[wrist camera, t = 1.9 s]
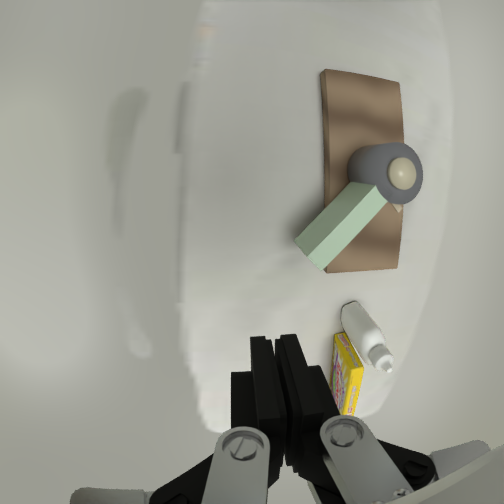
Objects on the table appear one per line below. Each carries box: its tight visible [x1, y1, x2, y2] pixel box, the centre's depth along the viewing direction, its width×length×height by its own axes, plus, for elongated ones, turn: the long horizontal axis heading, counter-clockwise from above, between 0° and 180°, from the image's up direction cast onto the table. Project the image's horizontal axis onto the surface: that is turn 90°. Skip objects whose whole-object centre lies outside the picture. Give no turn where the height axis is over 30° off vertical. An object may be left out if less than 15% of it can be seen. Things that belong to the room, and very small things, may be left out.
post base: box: [320, 69, 404, 273], centre depth 30 cm, size 24×10×2 cm, turn 1°
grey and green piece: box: [294, 142, 423, 271], centre depth 26 cm, size 15×6×7 cm, turn 136°
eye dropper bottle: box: [341, 302, 394, 373], centre depth 31 cm, size 4×6×12 cm
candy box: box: [329, 332, 364, 416], centre depth 35 cm, size 16×2×8 cm, turn 5°
